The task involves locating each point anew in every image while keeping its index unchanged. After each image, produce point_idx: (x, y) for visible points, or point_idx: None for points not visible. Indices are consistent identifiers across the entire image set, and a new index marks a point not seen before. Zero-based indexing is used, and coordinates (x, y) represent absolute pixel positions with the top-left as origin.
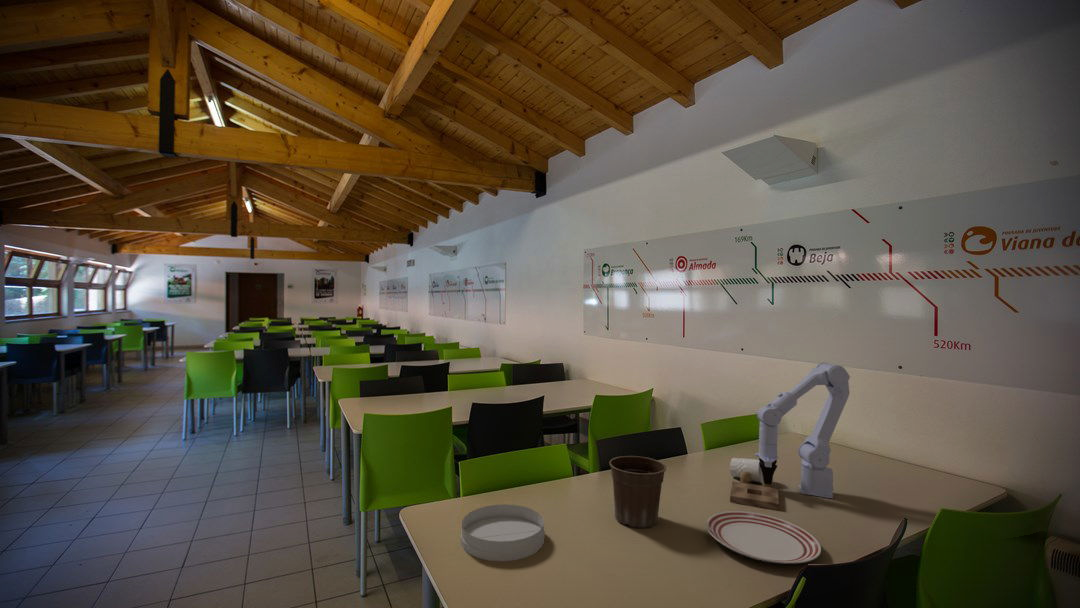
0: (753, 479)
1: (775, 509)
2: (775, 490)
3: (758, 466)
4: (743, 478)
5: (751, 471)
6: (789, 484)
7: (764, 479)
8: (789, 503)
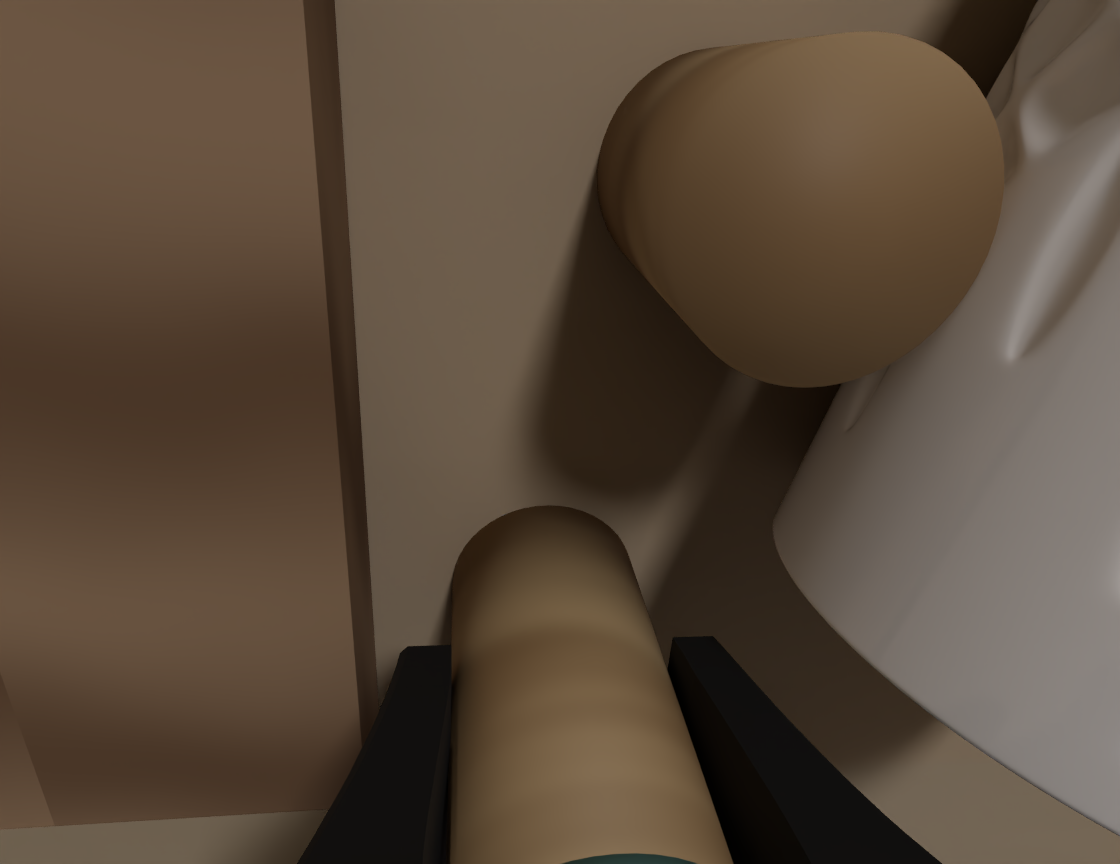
0: (839, 387)
1: None
2: (207, 788)
3: (1015, 763)
4: (649, 135)
5: (929, 435)
6: (915, 815)
7: (377, 735)
8: (54, 847)
